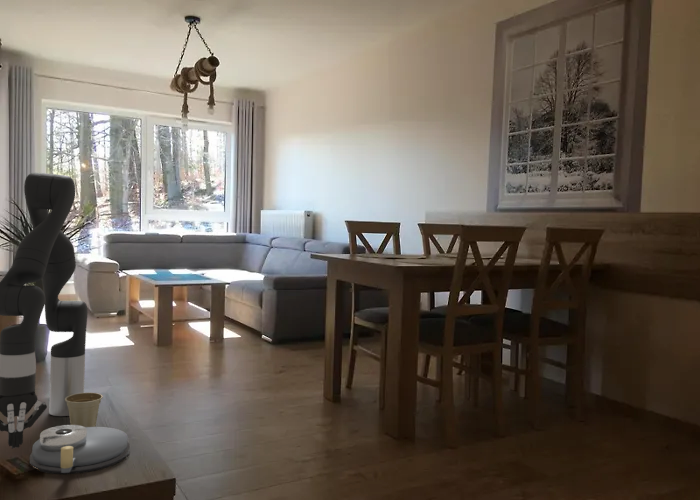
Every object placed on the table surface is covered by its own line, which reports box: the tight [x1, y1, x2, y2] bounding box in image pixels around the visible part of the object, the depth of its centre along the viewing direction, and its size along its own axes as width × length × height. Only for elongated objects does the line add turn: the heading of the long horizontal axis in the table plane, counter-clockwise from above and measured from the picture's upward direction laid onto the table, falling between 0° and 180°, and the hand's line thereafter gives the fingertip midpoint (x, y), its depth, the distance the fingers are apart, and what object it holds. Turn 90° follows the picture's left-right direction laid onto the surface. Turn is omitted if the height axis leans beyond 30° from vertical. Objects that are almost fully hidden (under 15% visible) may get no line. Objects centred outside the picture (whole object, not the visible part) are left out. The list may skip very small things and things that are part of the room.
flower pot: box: [65, 392, 103, 427], centre depth 158 cm, size 9×9×9 cm
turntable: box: [31, 426, 129, 473], centre depth 137 cm, size 26×21×6 cm
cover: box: [39, 424, 87, 452], centre depth 137 cm, size 10×10×3 cm
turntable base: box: [29, 442, 131, 475], centre depth 139 cm, size 22×22×1 cm
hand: (15, 446), depth 131 cm, fingers closed
